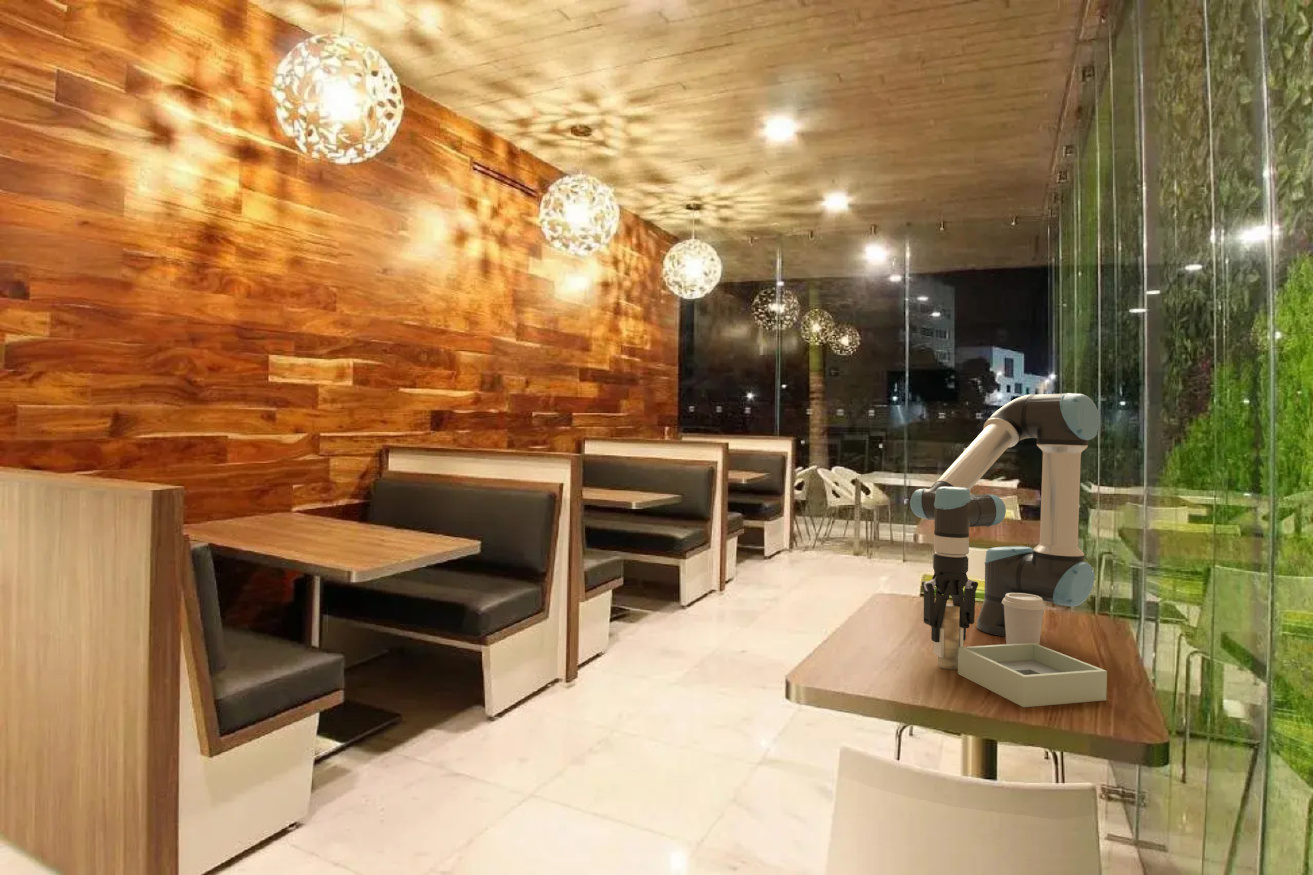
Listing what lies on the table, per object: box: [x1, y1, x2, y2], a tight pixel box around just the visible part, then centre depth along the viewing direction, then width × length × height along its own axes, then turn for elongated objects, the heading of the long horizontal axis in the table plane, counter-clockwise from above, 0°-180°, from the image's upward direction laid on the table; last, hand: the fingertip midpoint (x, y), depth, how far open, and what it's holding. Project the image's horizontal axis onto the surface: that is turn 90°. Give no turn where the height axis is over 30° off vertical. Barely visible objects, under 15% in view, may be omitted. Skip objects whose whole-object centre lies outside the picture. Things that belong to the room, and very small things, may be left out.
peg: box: [937, 603, 960, 671], centre depth 169 cm, size 4×4×14 cm
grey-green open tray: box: [957, 643, 1108, 708], centre depth 157 cm, size 20×20×6 cm
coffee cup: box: [1002, 593, 1047, 645], centre depth 176 cm, size 10×10×15 cm
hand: (948, 654), depth 169 cm, fingers closed on peg, 4 cm apart
